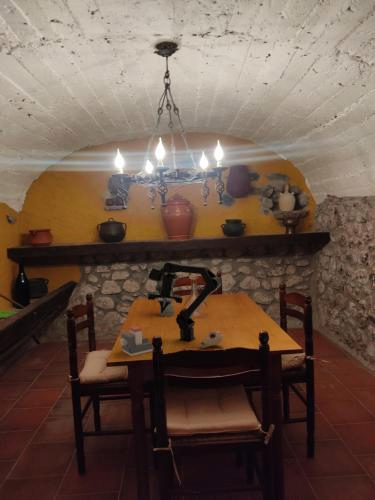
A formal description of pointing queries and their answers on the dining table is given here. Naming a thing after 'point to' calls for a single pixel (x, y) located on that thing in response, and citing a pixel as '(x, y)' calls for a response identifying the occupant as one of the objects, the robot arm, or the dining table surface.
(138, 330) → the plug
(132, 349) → the grey toy building
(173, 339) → the dining table surface
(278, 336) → the dining table surface
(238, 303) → the dining table surface
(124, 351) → the board
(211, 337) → the pottery oil lamp
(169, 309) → the thermos
